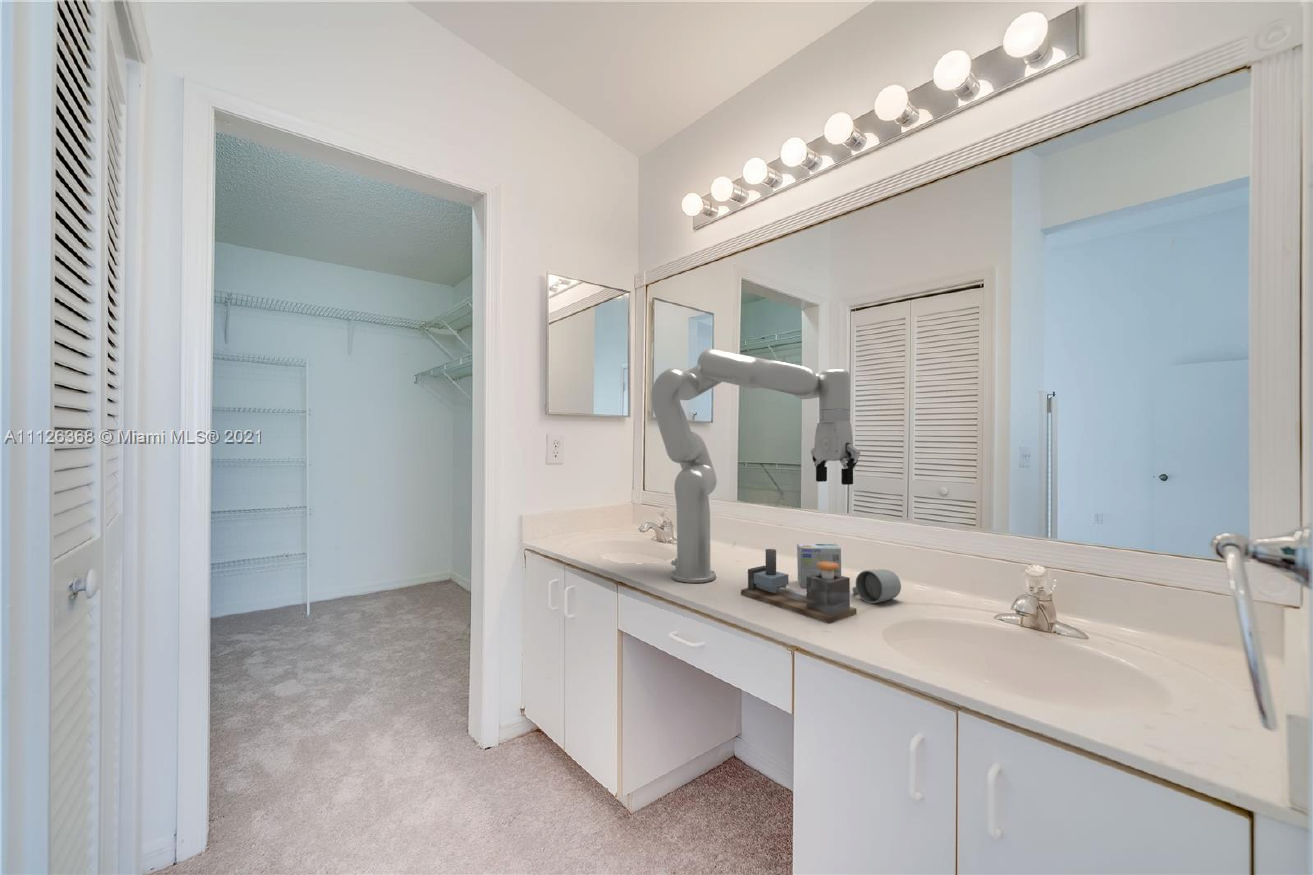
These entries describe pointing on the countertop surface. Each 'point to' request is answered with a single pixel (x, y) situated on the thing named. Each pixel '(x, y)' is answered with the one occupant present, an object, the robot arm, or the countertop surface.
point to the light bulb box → (816, 559)
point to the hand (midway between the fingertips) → (833, 482)
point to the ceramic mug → (877, 585)
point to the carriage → (770, 574)
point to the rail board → (808, 596)
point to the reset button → (827, 569)
